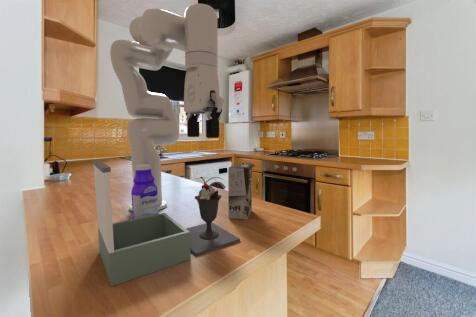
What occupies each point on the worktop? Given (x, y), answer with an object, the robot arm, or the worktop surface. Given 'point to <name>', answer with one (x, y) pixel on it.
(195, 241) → the mat
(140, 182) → the bottle
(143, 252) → the open box
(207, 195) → the sundae
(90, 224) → the worktop surface
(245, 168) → the coffee box
